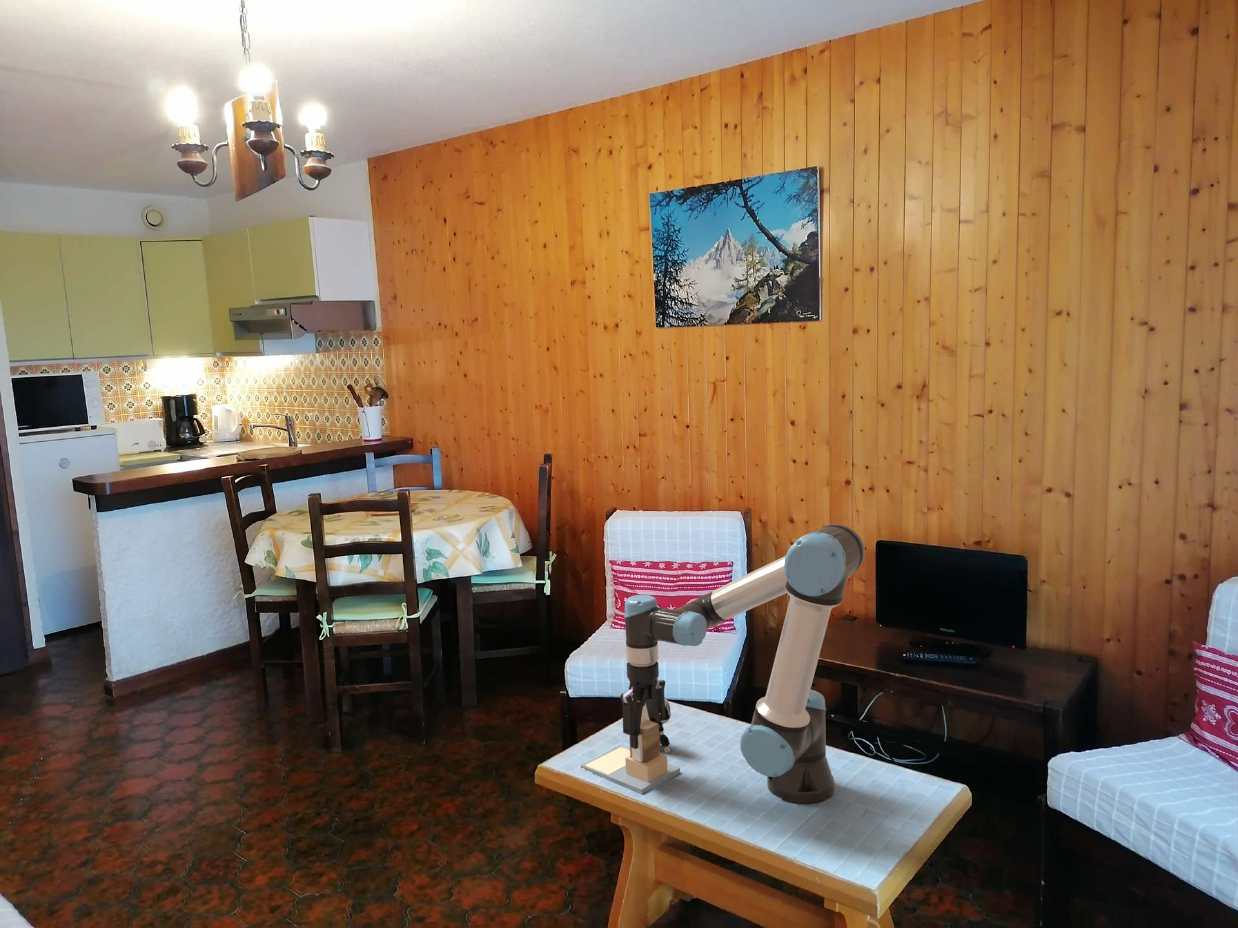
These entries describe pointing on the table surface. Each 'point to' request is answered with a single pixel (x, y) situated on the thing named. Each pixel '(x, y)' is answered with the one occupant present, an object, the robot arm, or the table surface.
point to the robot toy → (662, 738)
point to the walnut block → (649, 740)
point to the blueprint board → (632, 780)
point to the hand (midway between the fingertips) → (645, 755)
